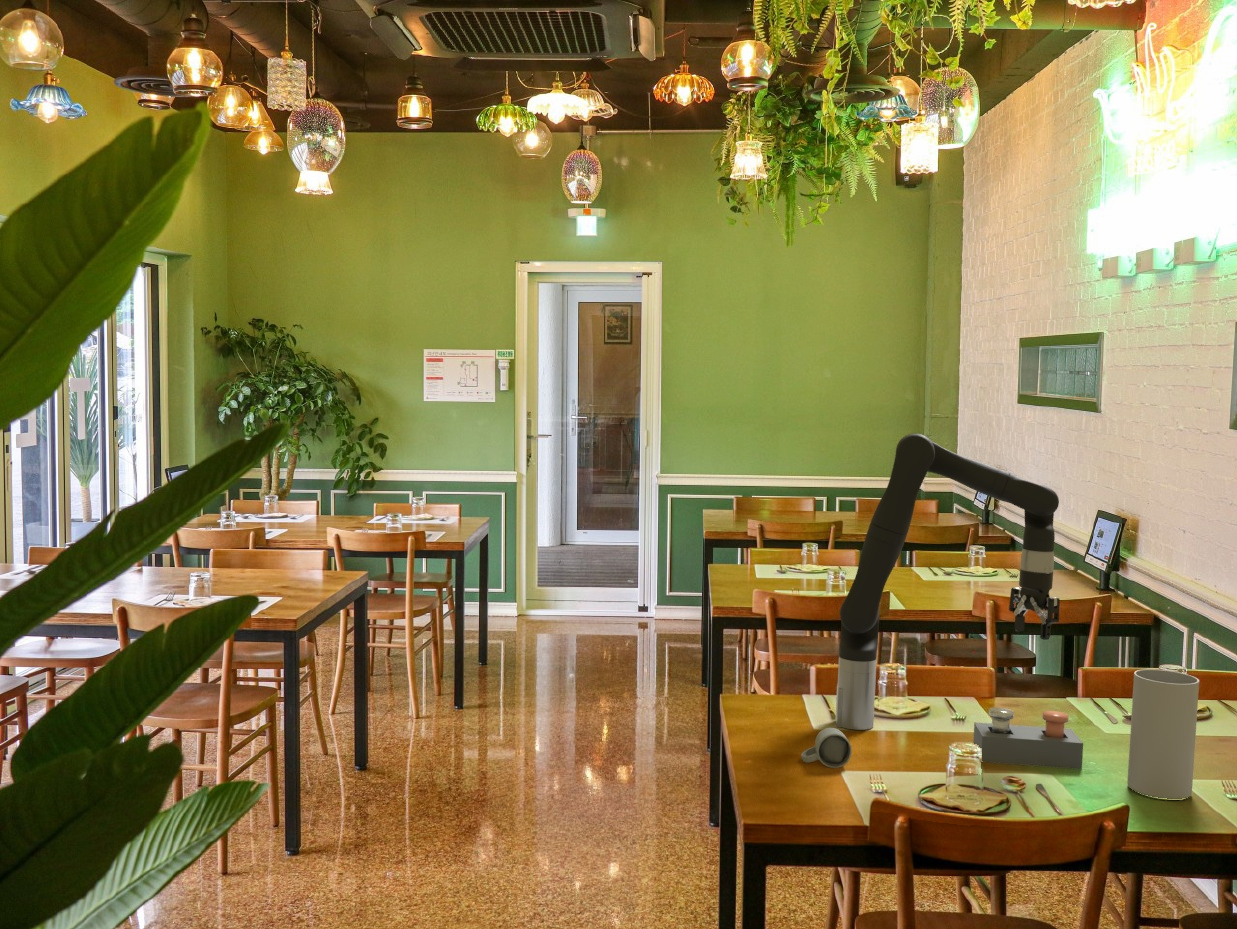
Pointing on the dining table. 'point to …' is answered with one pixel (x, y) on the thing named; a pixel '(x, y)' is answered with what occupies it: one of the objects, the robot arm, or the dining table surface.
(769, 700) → the dining table surface
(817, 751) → the ceramic mug
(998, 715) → the steel plunger
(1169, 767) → the cylinder vase
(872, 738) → the dining table surface
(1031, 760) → the plunger housing
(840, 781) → the dining table surface
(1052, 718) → the terracotta plunger
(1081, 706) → the dining table surface
